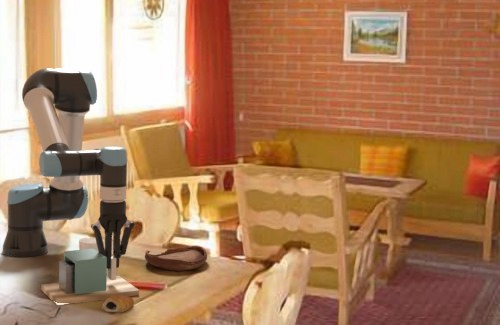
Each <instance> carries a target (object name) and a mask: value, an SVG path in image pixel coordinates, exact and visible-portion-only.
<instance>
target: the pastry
mask: <svg viewBox="0 0 500 325" xmlns="http://www.w3.org/2000/svg"><path fill="white" fill-rule="evenodd" d="M133 307H134V299H133V297H131V296H122V295H119V296H117V295H115V296H111V297H109V298H107V299H105V300H104V302H103V304H102V306H101V309H102V310H103V311H105V312H110V313H117V314H118V313H120V314H121V313H124V312H126V311H129V310H130V309H131V308H133Z"/></svg>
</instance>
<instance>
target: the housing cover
mask: <svg viewBox="0 0 500 325" xmlns="http://www.w3.org/2000/svg"><path fill="white" fill-rule="evenodd" d="M64 260H71V261H72V262H74V263H75V294H84V293H92V292H100V291H106V282H107V277H108V269H107V257H105V256H104V255H102V254H101V253H99V252H98V251H96V250H95V249H83V250H79V249H75V250H64V251H63V261H64Z"/></svg>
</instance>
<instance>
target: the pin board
mask: <svg viewBox="0 0 500 325" xmlns="http://www.w3.org/2000/svg"><path fill="white" fill-rule="evenodd" d="M40 288H41V289H40V290H41V291H42V292H43V294H44V295H46V296H47V297H48V298H49V299H50V300H51V301H52V300H53V301H55V302H57V303H75V304H80V303H81V302H82V303H89V302H95V301H97V302H99V301H106V299H107V298H109V297H111V296H115V295H117V296H119V295H122V296H128V297H133V296H134V297H135V296H140V290H139V289H138V288H137V287H136V286H134V285H133V284H131V283H130V282H129V281H127V280H126V279H124V278H123V277H121V276H120V275H116V280H110V279H109V278H108V276H107V282H106V291H100V292H92V293H84V294H75V293H71V294H65V293H64V292H63V291H62V290H61V289H60V288H59V282H53V283H45V284H41V286H40ZM53 301H52V302H53Z"/></svg>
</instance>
